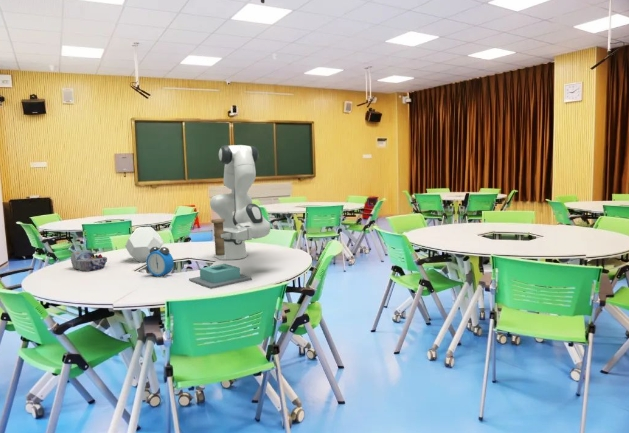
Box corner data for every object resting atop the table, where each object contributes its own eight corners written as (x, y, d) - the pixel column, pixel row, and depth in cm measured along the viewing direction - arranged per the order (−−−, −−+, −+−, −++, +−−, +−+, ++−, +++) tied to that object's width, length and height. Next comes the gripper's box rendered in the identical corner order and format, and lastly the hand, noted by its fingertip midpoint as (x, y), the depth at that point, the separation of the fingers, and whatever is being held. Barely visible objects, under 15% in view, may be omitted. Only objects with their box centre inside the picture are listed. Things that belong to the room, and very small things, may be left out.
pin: (211, 254, 220) (208, 219, 218) (222, 252, 224) (220, 218, 222) (217, 256, 215) (215, 220, 214) (229, 254, 220) (227, 219, 218)
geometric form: (140, 265, 263) (137, 230, 261) (121, 261, 275) (119, 228, 273) (169, 258, 279) (167, 226, 277) (151, 255, 291) (148, 224, 289)
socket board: (189, 280, 222) (188, 268, 222) (228, 272, 237) (227, 261, 236) (211, 288, 206) (210, 275, 205) (251, 279, 220) (251, 267, 219)
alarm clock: (147, 276, 235) (144, 247, 233) (155, 273, 241) (153, 245, 239) (167, 277, 230) (164, 248, 228) (175, 274, 236) (173, 246, 234)
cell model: (84, 247, 267) (109, 249, 259) (85, 265, 268) (110, 268, 260) (64, 251, 255) (90, 253, 247) (65, 270, 256) (91, 273, 248)
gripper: (230, 224, 235) (206, 227, 226) (252, 227, 219) (227, 230, 210) (231, 236, 235) (207, 239, 226) (253, 240, 220) (228, 244, 211)
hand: (217, 235), depth 218 cm, fingers closed on pin, 4 cm apart
